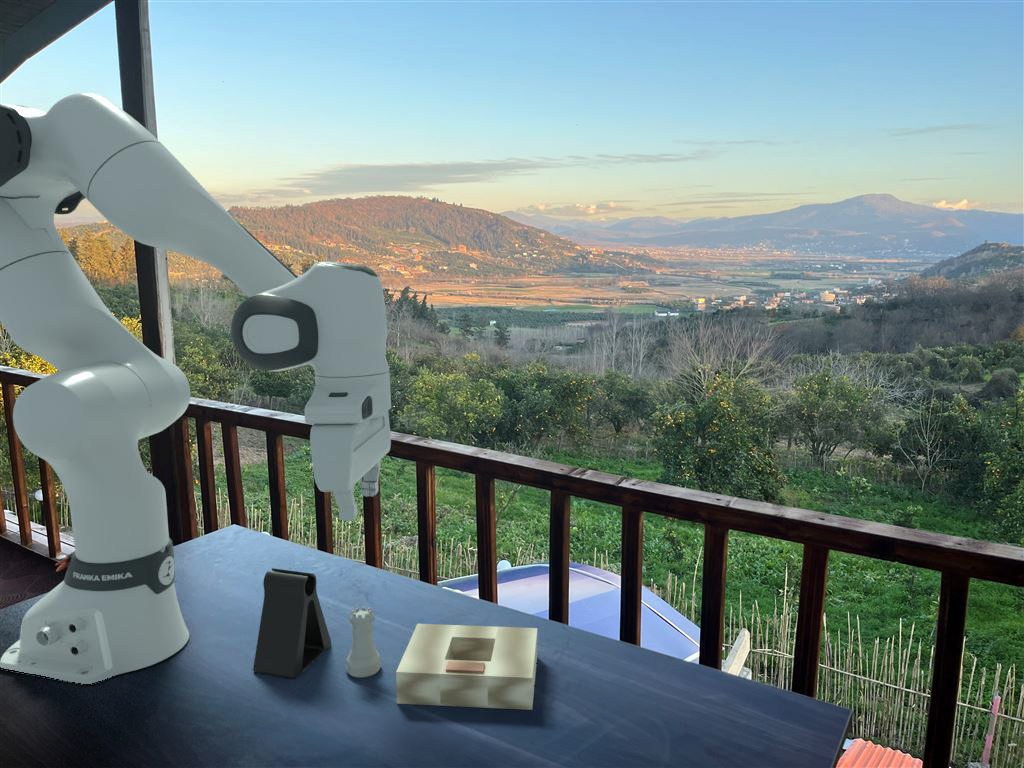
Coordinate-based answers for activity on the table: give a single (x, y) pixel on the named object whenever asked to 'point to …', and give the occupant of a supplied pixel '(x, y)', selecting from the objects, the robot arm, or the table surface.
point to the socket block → (469, 667)
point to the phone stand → (290, 625)
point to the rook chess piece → (362, 645)
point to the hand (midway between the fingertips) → (360, 506)
